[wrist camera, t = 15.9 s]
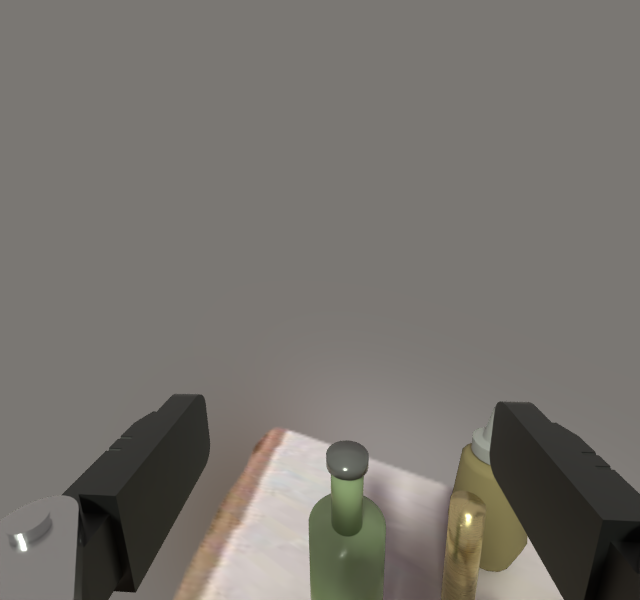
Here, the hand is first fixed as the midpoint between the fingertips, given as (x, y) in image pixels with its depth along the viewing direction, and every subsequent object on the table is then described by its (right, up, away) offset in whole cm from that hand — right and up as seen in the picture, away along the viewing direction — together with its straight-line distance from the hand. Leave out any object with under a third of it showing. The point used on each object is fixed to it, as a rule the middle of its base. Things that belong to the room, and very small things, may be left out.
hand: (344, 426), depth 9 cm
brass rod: (+13, -27, +24) cm, 38 cm away
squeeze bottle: (+18, -25, +30) cm, 43 cm away
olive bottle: (+1, -28, +18) cm, 33 cm away
